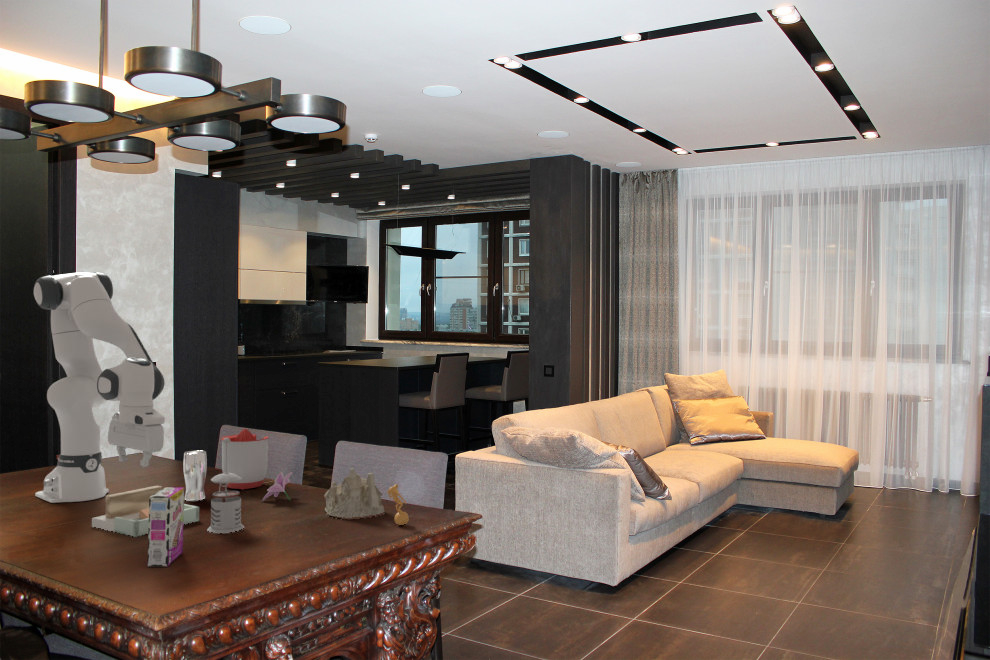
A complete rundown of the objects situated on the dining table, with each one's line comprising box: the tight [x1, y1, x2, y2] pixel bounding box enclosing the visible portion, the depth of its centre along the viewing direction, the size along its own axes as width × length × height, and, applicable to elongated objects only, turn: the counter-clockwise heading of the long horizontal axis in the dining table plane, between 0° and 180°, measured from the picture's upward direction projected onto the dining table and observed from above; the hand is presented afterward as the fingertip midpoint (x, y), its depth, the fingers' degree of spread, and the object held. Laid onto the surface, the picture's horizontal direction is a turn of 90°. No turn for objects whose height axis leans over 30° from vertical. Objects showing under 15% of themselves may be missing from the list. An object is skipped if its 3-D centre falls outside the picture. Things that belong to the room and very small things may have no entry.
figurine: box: [387, 483, 410, 526], centre depth 217 cm, size 8×6×12 cm
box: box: [113, 503, 200, 538], centre depth 213 cm, size 9×20×4 cm, turn 150°
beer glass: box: [182, 450, 208, 502], centre depth 246 cm, size 7×7×15 cm
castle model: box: [323, 467, 385, 518], centre depth 231 cm, size 16×16×15 cm
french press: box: [206, 438, 245, 534], centre depth 213 cm, size 10×12×25 cm
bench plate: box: [91, 512, 142, 533], centre depth 218 cm, size 10×20×2 cm, turn 150°
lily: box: [261, 470, 294, 502], centre depth 245 cm, size 12×12×10 cm
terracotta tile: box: [139, 508, 149, 519], centre depth 214 cm, size 5×5×2 cm
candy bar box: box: [147, 486, 185, 568], centre depth 184 cm, size 11×5×16 cm, turn 5°
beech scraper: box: [105, 485, 163, 519], centre depth 219 cm, size 2×16×6 cm, turn 150°
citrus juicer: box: [220, 428, 270, 491], centre depth 266 cm, size 16×17×20 cm
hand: (133, 464), depth 219 cm, fingers open, 8 cm apart
